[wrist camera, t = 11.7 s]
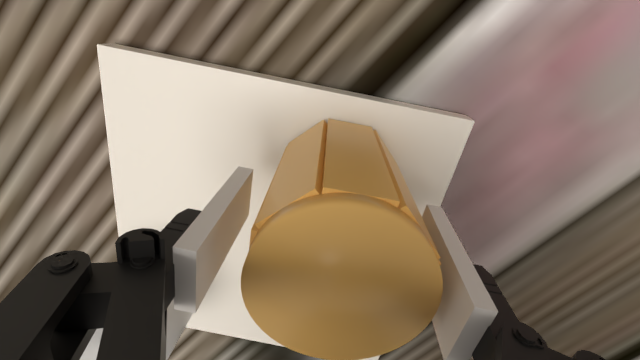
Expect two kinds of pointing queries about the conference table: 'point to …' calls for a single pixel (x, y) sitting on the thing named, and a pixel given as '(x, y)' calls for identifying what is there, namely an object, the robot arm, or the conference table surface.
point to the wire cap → (340, 249)
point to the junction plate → (239, 153)
